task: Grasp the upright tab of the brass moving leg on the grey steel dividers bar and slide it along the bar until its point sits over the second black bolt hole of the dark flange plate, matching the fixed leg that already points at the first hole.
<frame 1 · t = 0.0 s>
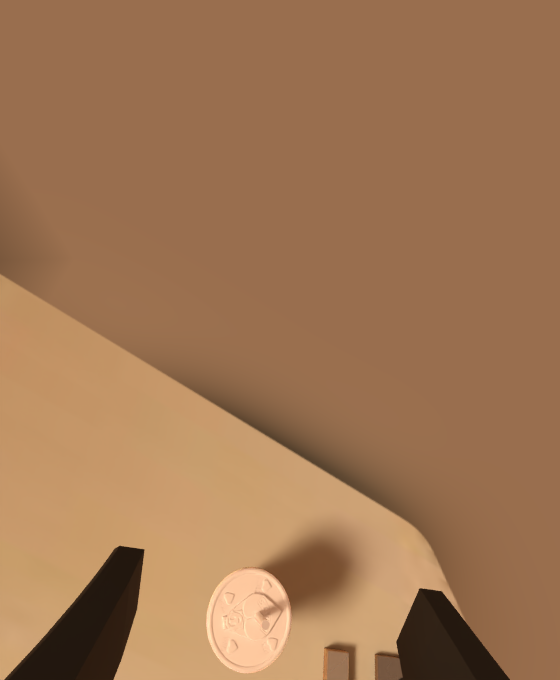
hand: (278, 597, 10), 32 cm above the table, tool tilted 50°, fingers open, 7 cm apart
smoothie: (240, 604, 36), on the table
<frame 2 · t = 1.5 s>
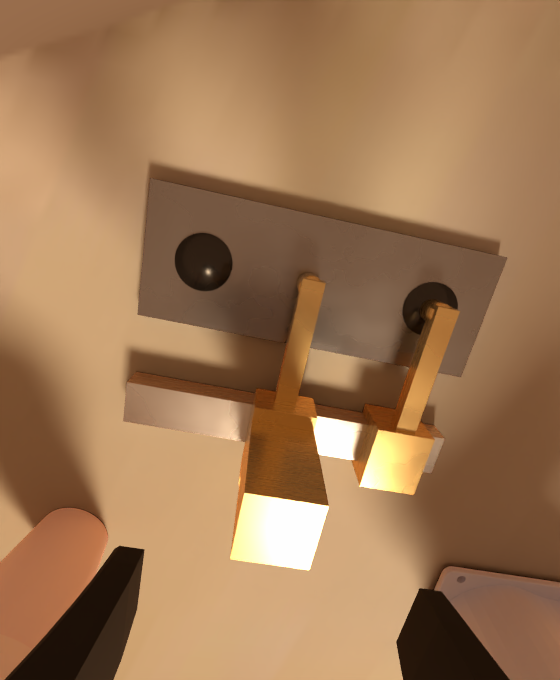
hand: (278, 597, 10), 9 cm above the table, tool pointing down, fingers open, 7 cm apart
moving leg: (291, 406, 14), point 4 cm above the table, slide at 0.0 cm
flange plate: (318, 284, 16), on the table
dividers bar: (286, 417, 19), on the table
smoothie: (75, 531, 21), on the table
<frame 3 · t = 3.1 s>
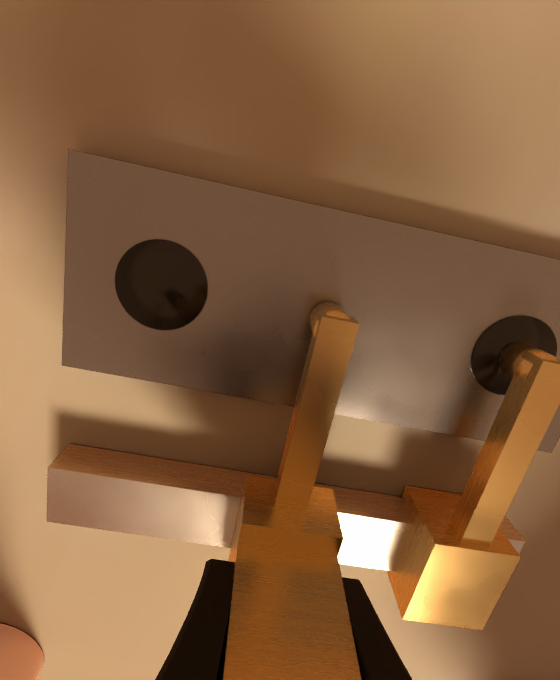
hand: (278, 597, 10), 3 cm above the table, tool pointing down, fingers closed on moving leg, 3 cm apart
moving leg: (303, 536, 8), point 4 cm above the table, slide at 0.0 cm, touching gripper
flange plate: (340, 317, 11), on the table
dividers bar: (290, 504, 13), on the table
smoothie: (0, 649, 15), on the table
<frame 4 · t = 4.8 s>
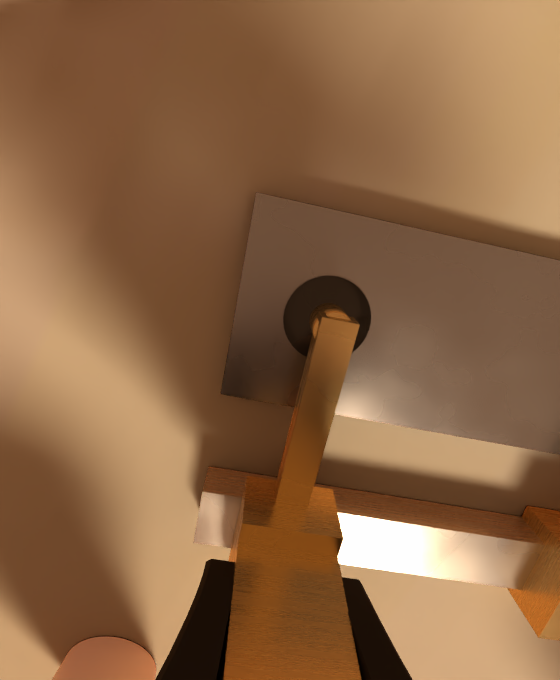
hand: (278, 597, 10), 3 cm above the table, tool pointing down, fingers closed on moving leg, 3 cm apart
moving leg: (303, 536, 8), point 4 cm above the table, slide at 4.5 cm, touching gripper
flange plate: (484, 346, 11), on the table
dividers bar: (414, 523, 13), on the table
smoothie: (112, 662, 15), on the table
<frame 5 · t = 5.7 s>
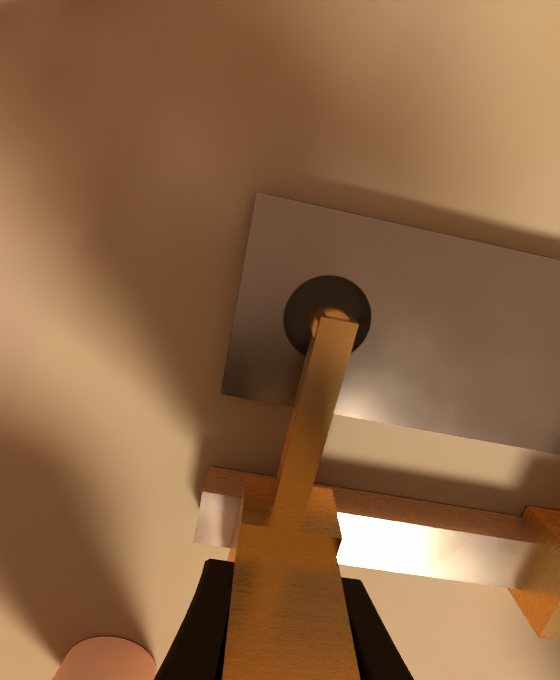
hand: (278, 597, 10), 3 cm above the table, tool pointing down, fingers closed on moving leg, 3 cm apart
moving leg: (302, 536, 8), point 4 cm above the table, slide at 4.5 cm, touching gripper
flange plate: (485, 346, 11), on the table
dividers bar: (414, 523, 13), on the table
smoothie: (112, 662, 15), on the table
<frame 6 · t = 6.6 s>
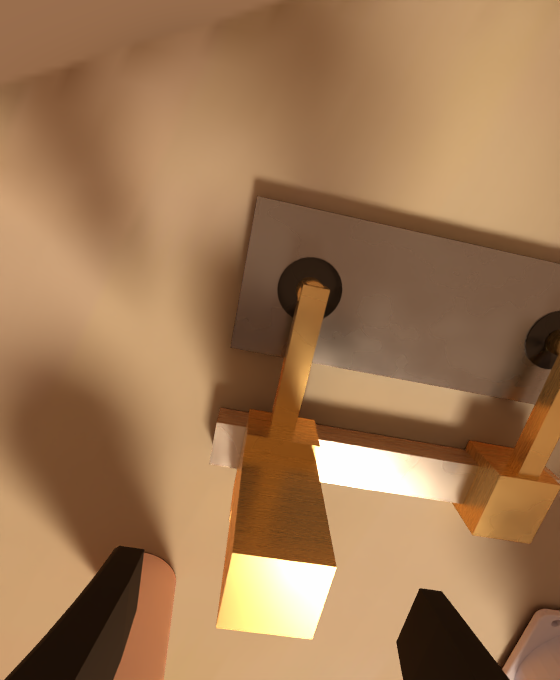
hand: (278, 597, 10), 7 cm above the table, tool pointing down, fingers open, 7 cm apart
moving leg: (290, 436, 12), point 4 cm above the table, slide at 4.5 cm
flange plate: (430, 312, 15), on the table
dividers bar: (381, 455, 17), on the table
smoothie: (140, 576, 19), on the table
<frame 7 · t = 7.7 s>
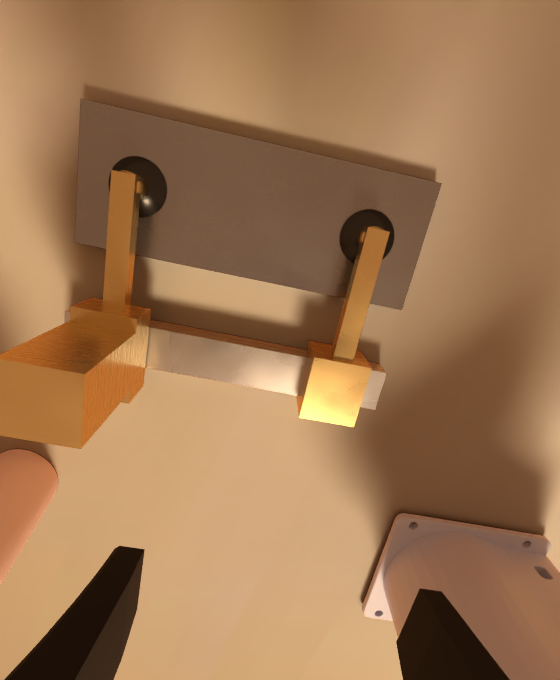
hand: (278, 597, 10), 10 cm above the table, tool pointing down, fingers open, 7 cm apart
moving leg: (94, 297, 14), point 4 cm above the table, slide at 4.5 cm
flange plate: (255, 213, 17), on the table
dividers bar: (230, 354, 19), on the table
smoothie: (26, 475, 21), on the table
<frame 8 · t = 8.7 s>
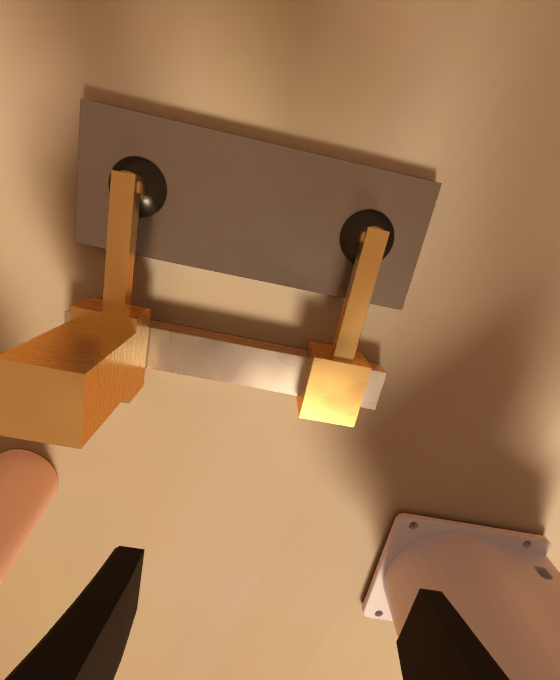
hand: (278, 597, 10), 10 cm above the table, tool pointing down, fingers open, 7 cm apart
moving leg: (94, 297, 14), point 4 cm above the table, slide at 4.5 cm
flange plate: (255, 213, 17), on the table
dividers bar: (230, 354, 19), on the table
smoothie: (26, 475, 21), on the table
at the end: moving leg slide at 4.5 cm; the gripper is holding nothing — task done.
